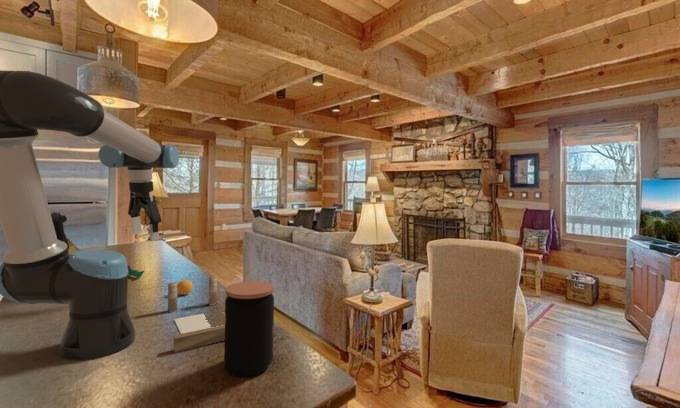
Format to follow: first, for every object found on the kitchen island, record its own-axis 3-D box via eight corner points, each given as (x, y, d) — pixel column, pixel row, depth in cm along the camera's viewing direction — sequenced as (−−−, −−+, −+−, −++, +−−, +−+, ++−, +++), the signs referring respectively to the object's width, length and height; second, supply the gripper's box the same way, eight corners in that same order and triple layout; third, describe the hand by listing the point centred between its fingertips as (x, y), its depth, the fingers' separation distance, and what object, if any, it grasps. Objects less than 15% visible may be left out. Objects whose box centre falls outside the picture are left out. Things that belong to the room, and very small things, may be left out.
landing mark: (234, 325, 95) (234, 325, 95) (182, 337, 87) (182, 336, 87) (221, 310, 106) (221, 310, 106) (174, 319, 98) (174, 319, 98)
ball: (193, 295, 121) (194, 280, 121) (177, 297, 118) (177, 282, 118) (190, 291, 126) (191, 277, 125) (175, 293, 122) (175, 279, 122)
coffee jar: (282, 365, 74) (283, 287, 74) (240, 385, 66) (241, 298, 66) (255, 349, 81) (256, 278, 81) (215, 365, 73) (216, 286, 73)
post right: (217, 304, 112) (218, 278, 112) (209, 305, 111) (210, 279, 110) (215, 302, 114) (216, 277, 114) (208, 303, 113) (208, 278, 112)
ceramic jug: (35, 289, 123) (35, 210, 122) (87, 283, 132) (87, 210, 131) (28, 302, 110) (27, 213, 108) (86, 294, 119) (86, 213, 118)
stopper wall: (254, 333, 90) (254, 321, 90) (174, 352, 79) (175, 338, 78) (252, 331, 92) (252, 318, 92) (173, 349, 80) (173, 335, 80)
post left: (177, 311, 105) (177, 283, 104) (168, 313, 103) (168, 285, 103) (176, 308, 107) (176, 282, 107) (167, 310, 105) (167, 283, 105)
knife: (118, 274, 148) (118, 263, 148) (122, 273, 150) (122, 262, 150) (143, 280, 139) (143, 269, 138) (147, 279, 140) (148, 268, 140)
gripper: (169, 183, 114) (173, 241, 118) (135, 177, 128) (140, 229, 132) (147, 185, 108) (152, 246, 112) (114, 178, 122) (120, 233, 126)
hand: (146, 237), depth 122 cm, fingers open, 13 cm apart
